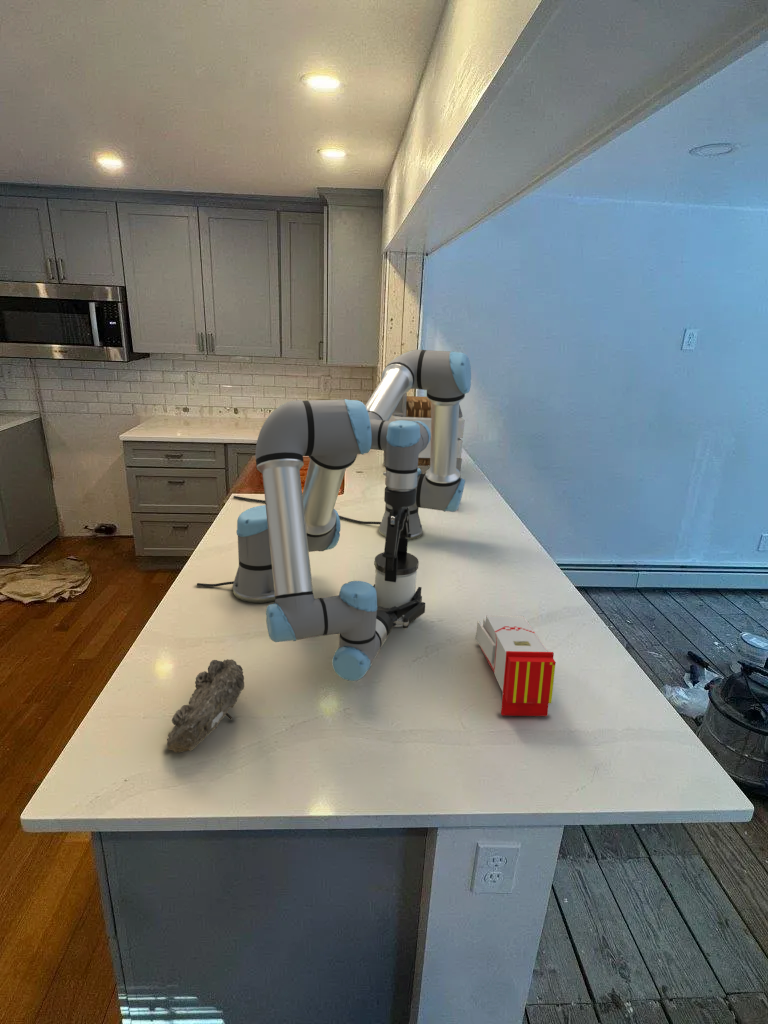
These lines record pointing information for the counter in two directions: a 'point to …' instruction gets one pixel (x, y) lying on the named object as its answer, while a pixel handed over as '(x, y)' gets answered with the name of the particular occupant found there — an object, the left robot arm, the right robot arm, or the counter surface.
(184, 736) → the fossil
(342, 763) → the counter surface
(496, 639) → the toy
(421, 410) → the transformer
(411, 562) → the lid
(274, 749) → the counter surface
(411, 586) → the jar
